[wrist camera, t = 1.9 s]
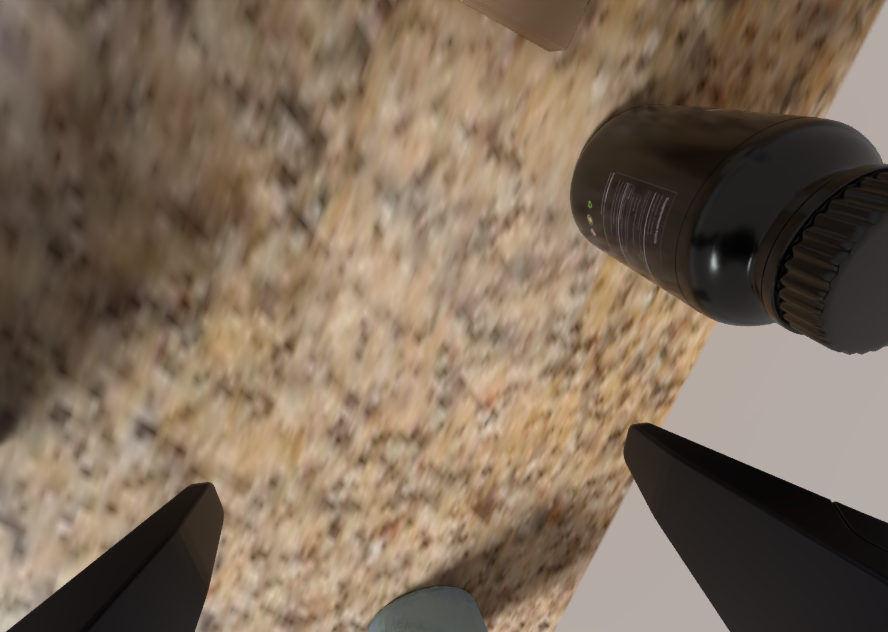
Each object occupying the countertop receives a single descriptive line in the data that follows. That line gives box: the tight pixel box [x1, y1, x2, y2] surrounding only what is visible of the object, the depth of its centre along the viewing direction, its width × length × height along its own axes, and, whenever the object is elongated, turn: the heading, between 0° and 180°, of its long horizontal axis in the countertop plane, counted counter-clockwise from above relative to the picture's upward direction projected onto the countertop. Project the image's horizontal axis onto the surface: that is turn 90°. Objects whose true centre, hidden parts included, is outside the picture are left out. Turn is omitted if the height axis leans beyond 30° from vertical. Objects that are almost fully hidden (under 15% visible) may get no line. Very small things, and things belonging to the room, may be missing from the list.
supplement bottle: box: [570, 104, 888, 355], centre depth 17 cm, size 7×7×12 cm
